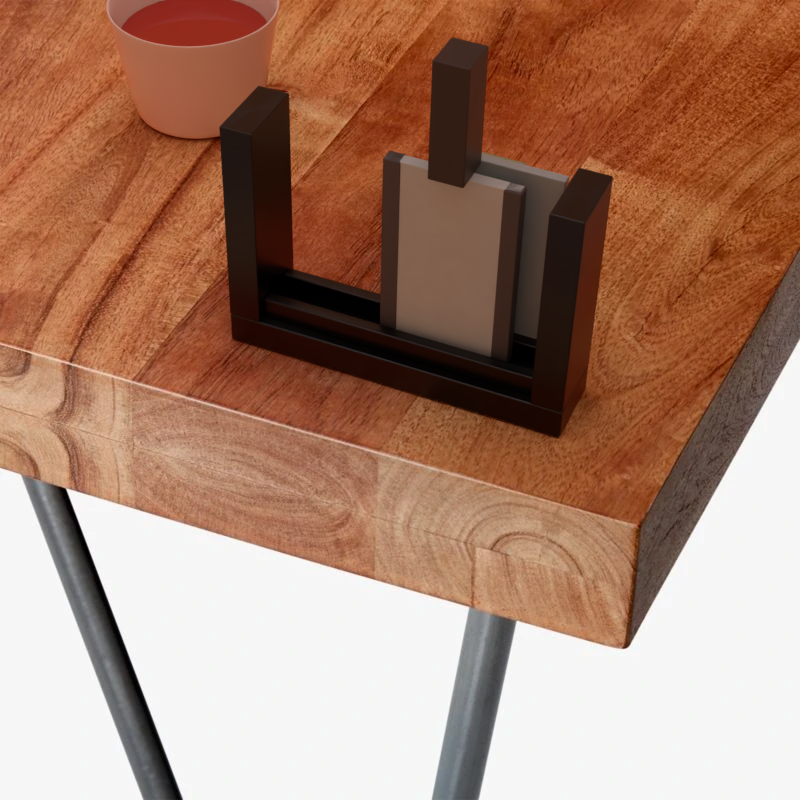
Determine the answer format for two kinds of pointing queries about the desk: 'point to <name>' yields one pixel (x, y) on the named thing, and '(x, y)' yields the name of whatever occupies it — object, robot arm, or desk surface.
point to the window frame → (360, 309)
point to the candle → (193, 58)
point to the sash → (452, 222)
